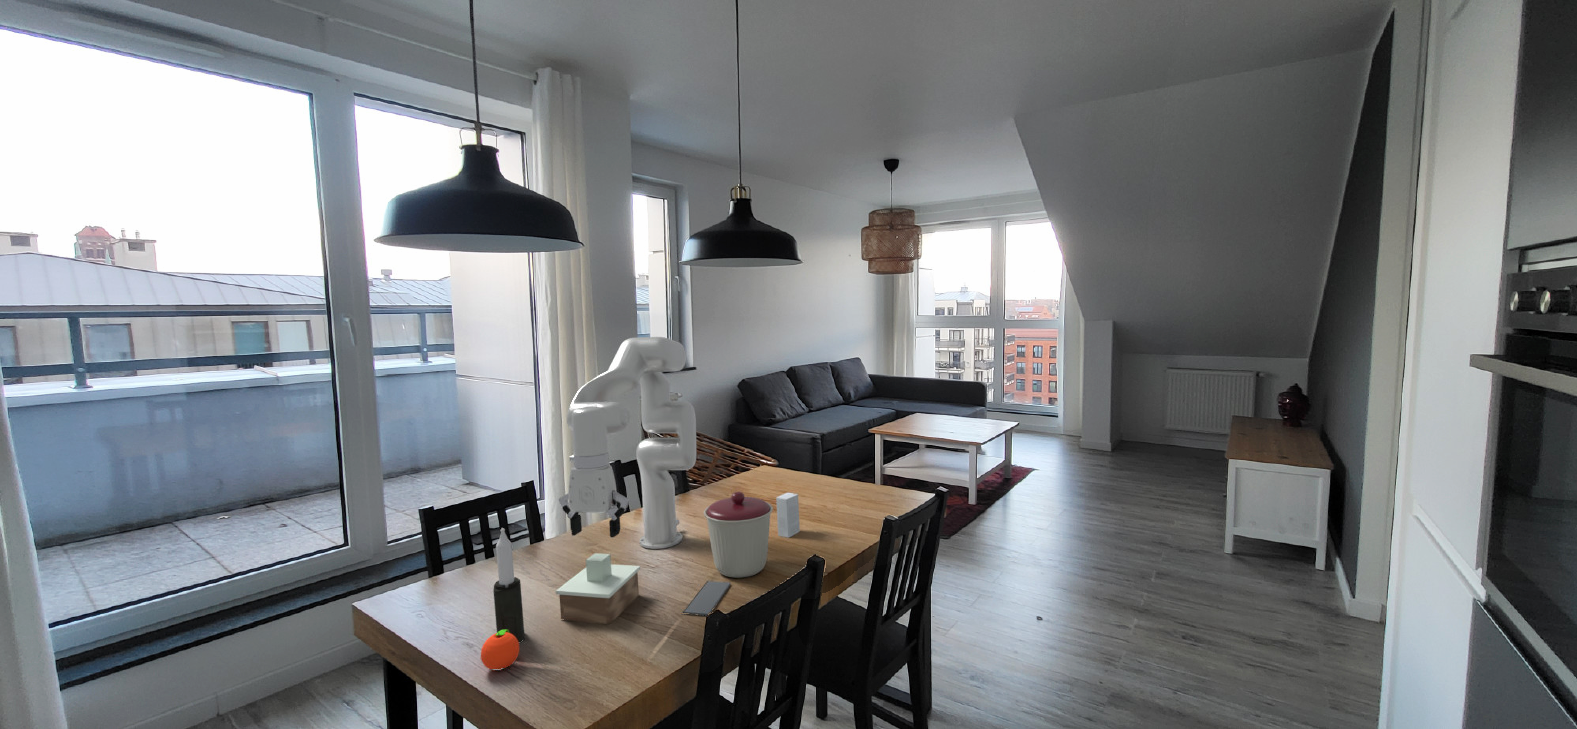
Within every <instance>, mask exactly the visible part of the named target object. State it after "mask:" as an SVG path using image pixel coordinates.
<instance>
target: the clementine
mask: <svg viewBox="0 0 1577 729" xmlns="http://www.w3.org/2000/svg"><path fill="white" fill-rule="evenodd" d="M506 631H508V632H506ZM519 654H520V643H519V642H518V640H517V638H516V637H515V636H514V635H513V634H511V633H509V630H508V629H505V630H500V631H499V632H498V633H497V632H496V633H493V634H491V635H490V637H488V638H487V639H486V640H485V641H484V643H483V644H482V647H481V650H480V659H481V662H482V664H483V665H484V667H485V668H487V669H488V668H489V670H490V669H501V668H506V667H508V666H509V667H510V666H512V665H513V664H514V663H515V662H516V660H517V659H518V656H519ZM511 664H512V665H511ZM509 667H508V668H509ZM506 669H507V668H506Z"/></svg>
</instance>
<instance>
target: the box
mask: <svg viewBox="0 0 1577 729" xmlns="http://www.w3.org/2000/svg"><path fill="white" fill-rule="evenodd" d="M638 572H639V571H638ZM638 572H637V573H636V574H635V575H634V576H632V577H631V578H630V579H629V580H628V581H627V582H626V583H625V584H624V585H623V586H622V587H621V588H620V589H618V590H617V591H616V592H615V593H614V594H613V595H612V596H611V597H610V598H599V597H586V596H573V595H560V594H558V596H559V606H560V607H559V610H560V620H561V619H564V620H563V621H565V620H572V621H571V622H577V621H581V622H580V623H588V624H589V623H590V624H591V623H592V624H600V623H603V624H604V625H611V624H612V623H613V622H614V621H615V620H616V619H617V618H618V617H619V616H620V614H622V613H623V612H624V611H625V610H626V609H627V608H628V607H629V606H630V605H631V604H632V603H633V602H634V600H636V598H637V597H638V596H639V595H640V590H639V575H638ZM617 616H618V617H617ZM610 623H611V624H610ZM603 624H602V625H603Z"/></svg>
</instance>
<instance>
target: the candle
mask: <svg viewBox="0 0 1577 729" xmlns="http://www.w3.org/2000/svg"><path fill="white" fill-rule="evenodd" d="M499 531H500V535H499V539H498V541H497V543H496V545H495V549H496V562H497V573H498V576H497V577H498V580H497V581H496V582H495V583H494V584H493V591H492V592H493V602H494V604H493V605H494V614H495V625H496V626H495V627H496V633H498V632H499V631H500V630H505V629H508V630H509V633H511V634H513V635H514V636H515V637H516V638H517V640H518V642H521V641H522V640H523V639H524V640H525V622H524V611H523V599H522V583H521V579H519V577H515V572H514V560H513V559H514V558H513V547H512V546H513V545H512V541H510V540H509V538H508V536H507V534H506V532H505V531H506V529H505V528H503V527H501V529H500V530H499ZM506 632H508V631H506ZM521 643H522V642H521Z"/></svg>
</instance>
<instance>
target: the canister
mask: <svg viewBox="0 0 1577 729" xmlns="http://www.w3.org/2000/svg"><path fill="white" fill-rule="evenodd" d="M773 510H774V508H773V505H771V503H769V502H767V501H765V500H763V499H761V498H758V497H752V496H745V494H744V492H741V491H735V492H733V493H732V494H731V496H730V497H727V498H723V499H719V500H717V501H714V502H713V503H711V504H710V505H708V506H707V507H706V508H705V509H704V511H703V516H704V517H705V518H706V520H707V521H706V522H707V527H708V534H709V541H710V546H711V552H712V558H713V563H714V566H715V568H716V570H717V571H718V572H719V574H721V575H723V576H725V577H729V578H734V579H737V578H741V579H742V578H747V577H748V578H749V577H751V576H755V575H757V574H758V573H760V572H761V571H763V569H764V568H765V565H766V563H767V559H768V550H769V539H770V538H769V536H770V527H771V526H770V523H771V514H772V512H773Z"/></svg>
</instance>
